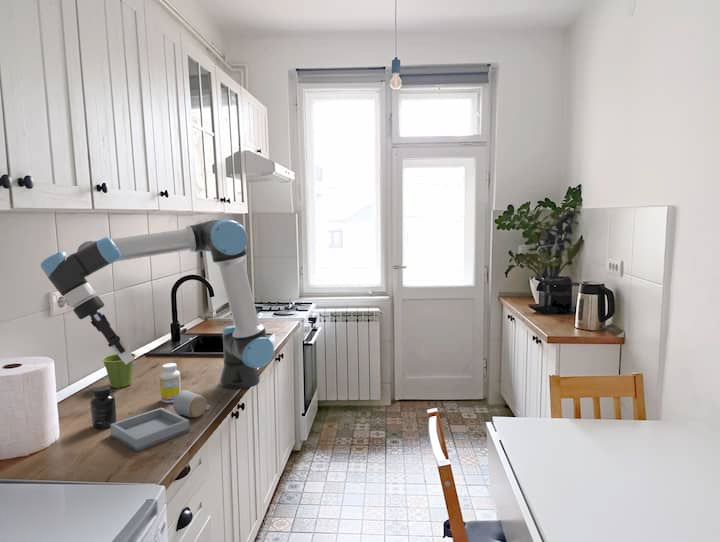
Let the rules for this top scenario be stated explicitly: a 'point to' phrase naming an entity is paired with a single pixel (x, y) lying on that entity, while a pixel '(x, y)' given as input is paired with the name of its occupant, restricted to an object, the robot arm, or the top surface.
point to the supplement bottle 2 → (170, 382)
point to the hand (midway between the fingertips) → (128, 360)
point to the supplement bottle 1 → (103, 408)
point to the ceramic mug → (190, 404)
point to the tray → (149, 428)
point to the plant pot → (118, 370)
